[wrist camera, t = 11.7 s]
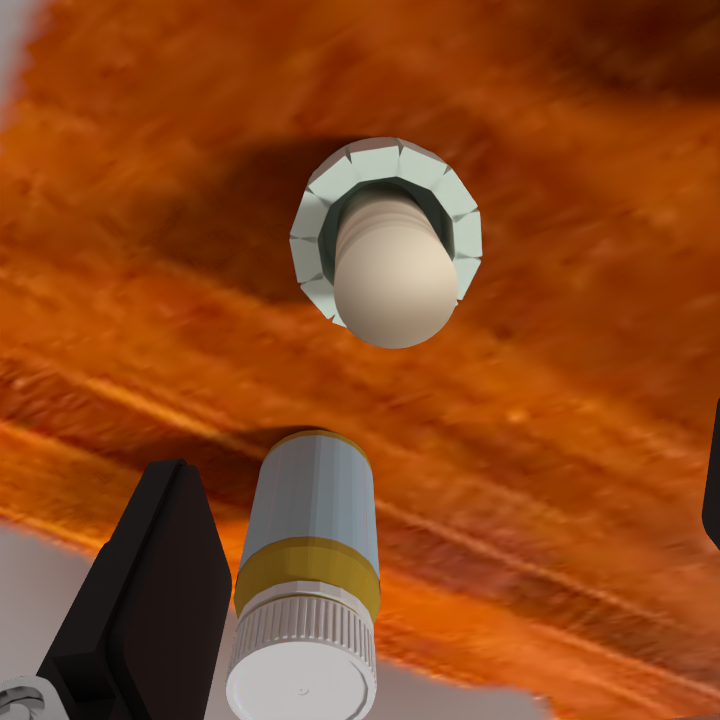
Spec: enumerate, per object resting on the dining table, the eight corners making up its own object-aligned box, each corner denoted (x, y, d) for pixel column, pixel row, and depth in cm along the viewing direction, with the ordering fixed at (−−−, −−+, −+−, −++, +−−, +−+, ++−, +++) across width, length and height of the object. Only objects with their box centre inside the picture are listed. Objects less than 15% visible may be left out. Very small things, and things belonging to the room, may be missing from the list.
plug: (330, 189, 29) (323, 240, 20) (419, 175, 29) (453, 220, 20) (344, 274, 31) (344, 356, 22) (428, 262, 31) (462, 339, 22)
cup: (285, 151, 29) (274, 164, 25) (455, 124, 29) (475, 133, 24) (315, 309, 33) (310, 346, 28) (466, 287, 33) (485, 321, 28)
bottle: (321, 403, 35) (306, 605, 22) (394, 475, 38) (421, 697, 24) (238, 466, 37) (177, 688, 24) (312, 531, 40) (296, 766, 26)
